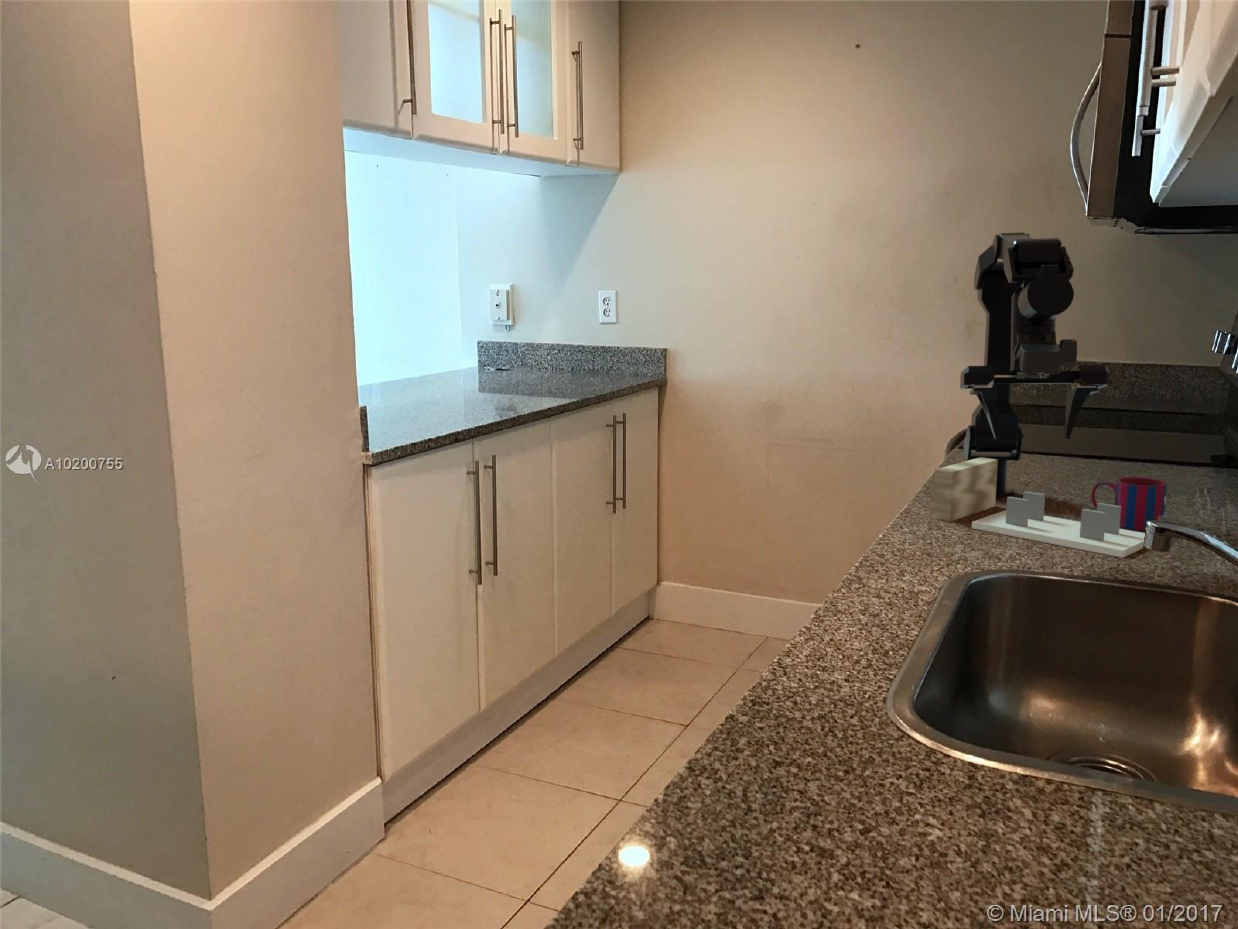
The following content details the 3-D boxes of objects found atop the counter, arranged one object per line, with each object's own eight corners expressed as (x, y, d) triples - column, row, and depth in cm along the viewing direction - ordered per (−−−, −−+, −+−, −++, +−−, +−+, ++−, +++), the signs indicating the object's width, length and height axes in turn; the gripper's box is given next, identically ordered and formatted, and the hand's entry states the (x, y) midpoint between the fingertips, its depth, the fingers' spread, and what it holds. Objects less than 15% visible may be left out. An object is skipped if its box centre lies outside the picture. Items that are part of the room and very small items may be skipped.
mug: (1159, 533, 141) (1163, 488, 139) (1085, 524, 147) (1088, 480, 145) (1166, 523, 146) (1170, 480, 145) (1095, 515, 152) (1098, 473, 151)
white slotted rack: (1007, 515, 153) (1009, 484, 152) (1155, 541, 136) (1158, 507, 135) (971, 528, 146) (973, 496, 145) (1123, 557, 129) (1125, 521, 128)
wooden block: (973, 503, 162) (976, 456, 160) (995, 506, 159) (997, 459, 157) (928, 517, 153) (930, 468, 151) (949, 522, 150) (952, 472, 148)
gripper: (969, 319, 129) (967, 435, 129) (1121, 317, 125) (1119, 437, 124) (960, 332, 140) (958, 439, 140) (1100, 330, 135) (1098, 440, 135)
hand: (1031, 439), depth 135 cm, fingers open, 9 cm apart
